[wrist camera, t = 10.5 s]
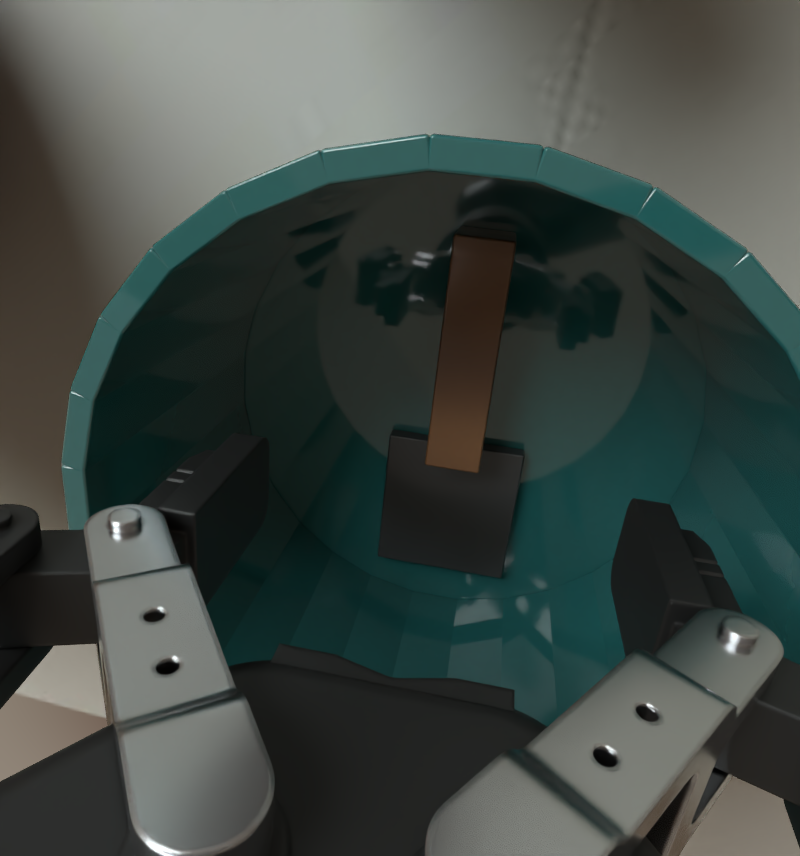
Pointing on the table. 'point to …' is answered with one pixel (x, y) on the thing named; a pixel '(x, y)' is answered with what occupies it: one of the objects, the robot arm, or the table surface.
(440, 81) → the table surface
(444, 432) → the spatula
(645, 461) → the bowl
